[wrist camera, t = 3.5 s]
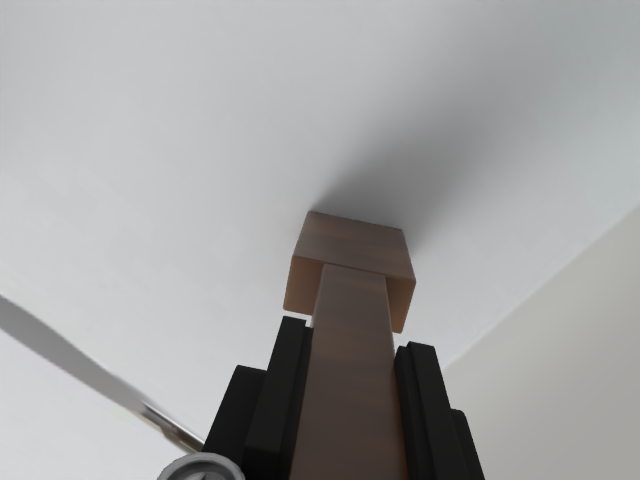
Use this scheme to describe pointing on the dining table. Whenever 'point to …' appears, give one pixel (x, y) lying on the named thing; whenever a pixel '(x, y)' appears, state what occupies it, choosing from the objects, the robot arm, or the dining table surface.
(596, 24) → the dining table surface
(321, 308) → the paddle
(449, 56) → the dining table surface
